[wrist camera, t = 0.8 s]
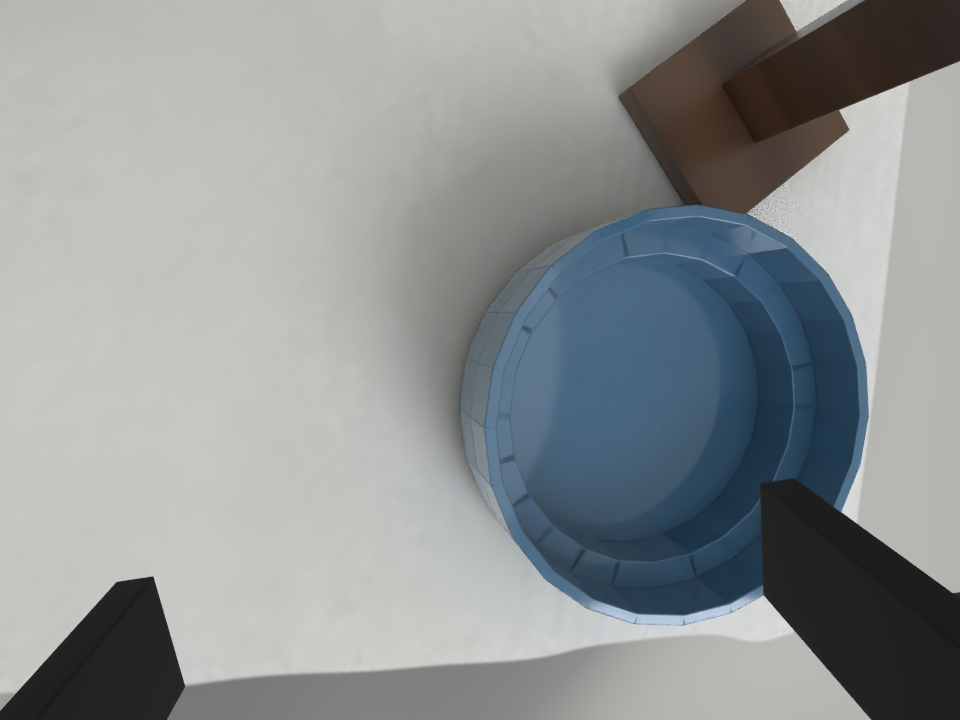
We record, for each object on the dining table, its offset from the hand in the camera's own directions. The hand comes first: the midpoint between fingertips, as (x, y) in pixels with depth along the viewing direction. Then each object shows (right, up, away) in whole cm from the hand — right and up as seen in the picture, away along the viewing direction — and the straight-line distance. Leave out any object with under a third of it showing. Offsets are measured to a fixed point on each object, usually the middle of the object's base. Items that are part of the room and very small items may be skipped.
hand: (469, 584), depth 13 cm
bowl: (+9, +2, +24) cm, 26 cm away
